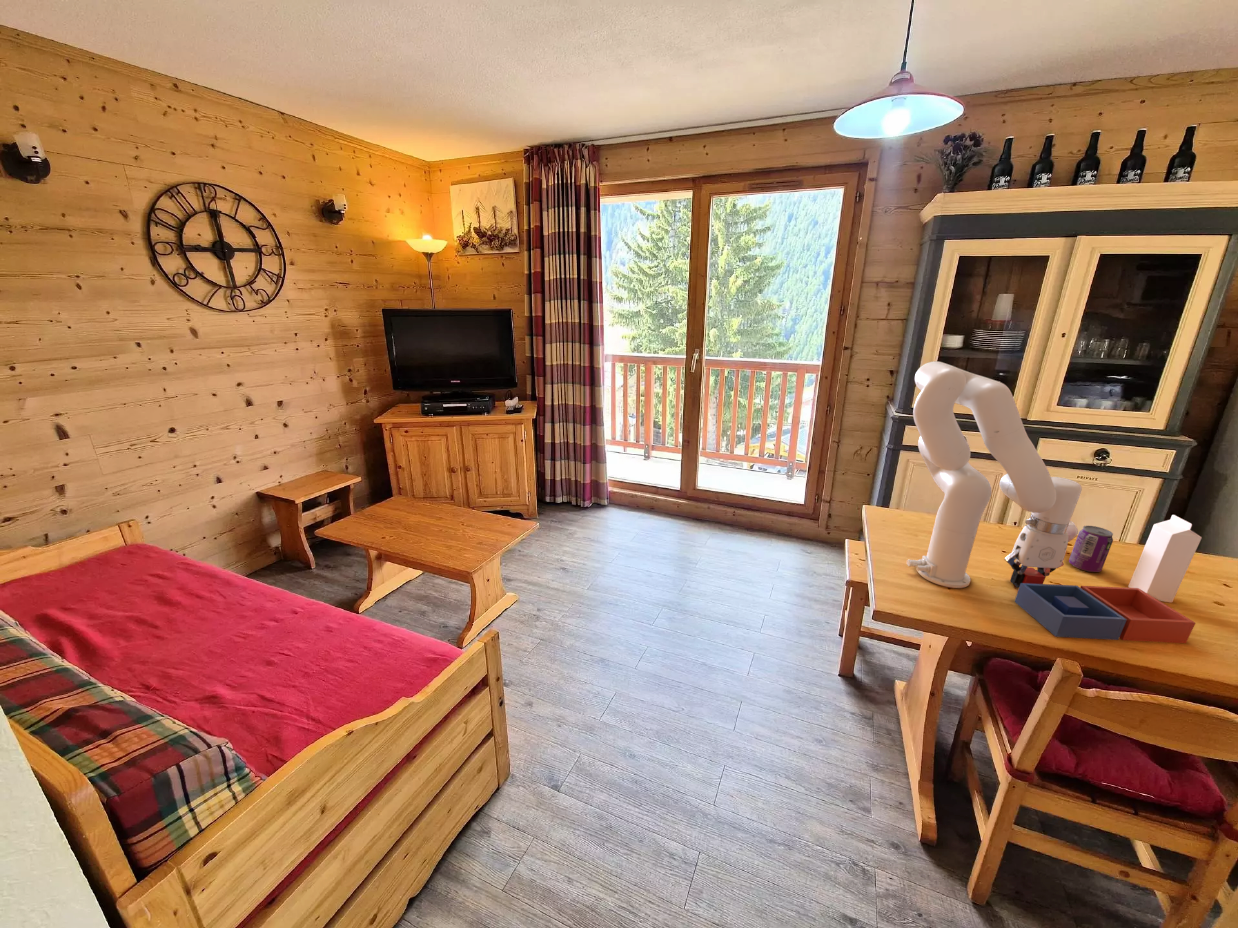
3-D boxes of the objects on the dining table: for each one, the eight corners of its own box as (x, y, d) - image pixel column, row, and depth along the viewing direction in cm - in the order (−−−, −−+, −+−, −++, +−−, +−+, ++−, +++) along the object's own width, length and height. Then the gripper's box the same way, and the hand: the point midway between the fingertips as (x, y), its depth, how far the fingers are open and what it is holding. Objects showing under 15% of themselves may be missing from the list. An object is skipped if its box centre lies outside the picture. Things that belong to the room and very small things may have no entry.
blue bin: (1055, 636, 111) (1063, 616, 109) (1014, 601, 124) (1020, 582, 122) (1118, 639, 110) (1127, 619, 109) (1070, 604, 123) (1077, 585, 121)
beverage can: (1107, 575, 136) (1122, 537, 132) (1078, 572, 138) (1092, 534, 134) (1089, 562, 143) (1103, 526, 139) (1062, 559, 144) (1074, 523, 140)
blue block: (1063, 622, 115) (1069, 606, 113) (1048, 611, 119) (1054, 595, 118) (1083, 623, 115) (1089, 607, 113) (1067, 612, 119) (1073, 596, 117)
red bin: (1122, 640, 110) (1131, 619, 109) (1073, 604, 123) (1080, 585, 121) (1186, 643, 110) (1195, 622, 108) (1130, 606, 122) (1138, 587, 121)
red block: (1022, 590, 128) (1027, 575, 127) (1010, 580, 133) (1015, 566, 131) (1039, 591, 128) (1045, 576, 127) (1027, 581, 132) (1032, 567, 131)
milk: (1144, 599, 126) (1176, 523, 118) (1127, 586, 131) (1157, 512, 124) (1173, 602, 124) (1207, 525, 117) (1154, 589, 130) (1186, 515, 122)
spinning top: (1032, 547, 151) (1043, 512, 147) (1045, 542, 155) (1057, 508, 151) (1061, 558, 145) (1074, 522, 141) (1075, 553, 148) (1088, 517, 144)
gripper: (1023, 529, 121) (1002, 591, 127) (1094, 533, 120) (1069, 595, 126) (1003, 516, 128) (983, 575, 134) (1069, 520, 127) (1047, 579, 133)
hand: (1025, 584), depth 130 cm, fingers closed on red block, 4 cm apart
